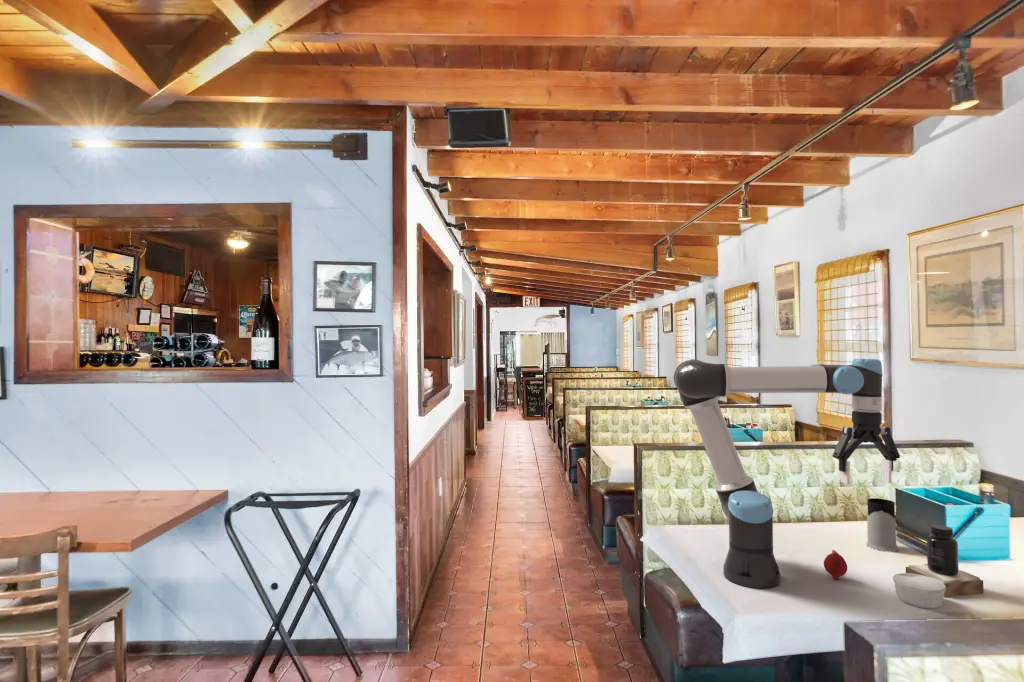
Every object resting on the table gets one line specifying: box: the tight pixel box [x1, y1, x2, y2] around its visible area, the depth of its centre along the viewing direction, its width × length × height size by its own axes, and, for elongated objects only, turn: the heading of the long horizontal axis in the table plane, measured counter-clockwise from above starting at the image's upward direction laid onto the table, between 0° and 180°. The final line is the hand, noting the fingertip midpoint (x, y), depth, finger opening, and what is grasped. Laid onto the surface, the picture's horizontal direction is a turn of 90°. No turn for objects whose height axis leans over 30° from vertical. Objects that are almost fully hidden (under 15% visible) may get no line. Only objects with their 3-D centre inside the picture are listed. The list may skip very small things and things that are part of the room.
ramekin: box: [892, 572, 946, 610], centre depth 147 cm, size 11×11×5 cm
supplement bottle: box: [926, 524, 960, 575], centre depth 156 cm, size 7×7×12 cm
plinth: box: [905, 563, 984, 598], centre depth 155 cm, size 12×12×4 cm
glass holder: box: [865, 497, 899, 552], centre depth 189 cm, size 9×14×15 cm, turn 148°
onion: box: [823, 549, 848, 580], centre depth 161 cm, size 6×6×8 cm
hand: (865, 482), depth 168 cm, fingers open, 13 cm apart
